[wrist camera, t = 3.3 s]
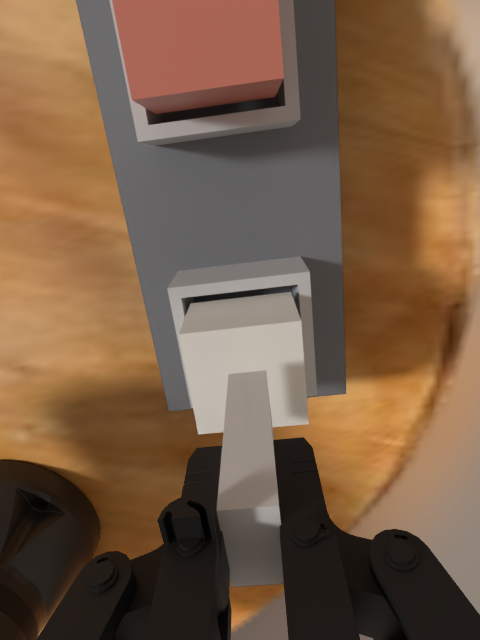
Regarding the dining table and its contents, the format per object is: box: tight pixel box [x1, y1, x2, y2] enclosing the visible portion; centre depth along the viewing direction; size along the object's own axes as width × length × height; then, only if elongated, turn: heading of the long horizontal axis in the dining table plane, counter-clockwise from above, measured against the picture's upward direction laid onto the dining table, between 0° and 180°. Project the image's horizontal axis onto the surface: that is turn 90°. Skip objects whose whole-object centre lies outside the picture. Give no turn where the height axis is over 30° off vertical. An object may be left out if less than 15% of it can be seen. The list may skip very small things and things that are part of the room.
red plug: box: [112, 0, 284, 114], centre depth 14 cm, size 5×5×4 cm
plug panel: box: [76, 0, 346, 411], centre depth 22 cm, size 26×12×8 cm, turn 7°
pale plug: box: [178, 292, 309, 435], centre depth 19 cm, size 5×5×4 cm
